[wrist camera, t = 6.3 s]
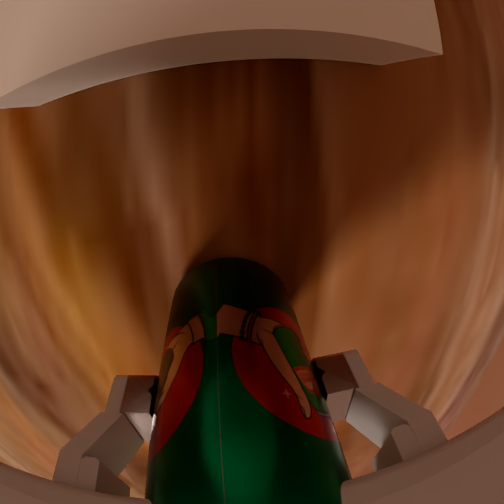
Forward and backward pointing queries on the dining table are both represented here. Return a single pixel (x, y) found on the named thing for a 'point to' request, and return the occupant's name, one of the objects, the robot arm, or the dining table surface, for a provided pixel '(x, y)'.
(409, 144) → the dining table surface
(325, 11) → the plinth
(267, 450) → the soda can
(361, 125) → the dining table surface
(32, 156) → the dining table surface
